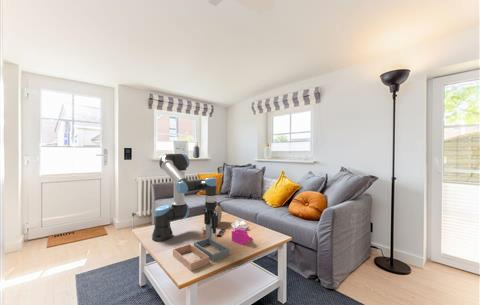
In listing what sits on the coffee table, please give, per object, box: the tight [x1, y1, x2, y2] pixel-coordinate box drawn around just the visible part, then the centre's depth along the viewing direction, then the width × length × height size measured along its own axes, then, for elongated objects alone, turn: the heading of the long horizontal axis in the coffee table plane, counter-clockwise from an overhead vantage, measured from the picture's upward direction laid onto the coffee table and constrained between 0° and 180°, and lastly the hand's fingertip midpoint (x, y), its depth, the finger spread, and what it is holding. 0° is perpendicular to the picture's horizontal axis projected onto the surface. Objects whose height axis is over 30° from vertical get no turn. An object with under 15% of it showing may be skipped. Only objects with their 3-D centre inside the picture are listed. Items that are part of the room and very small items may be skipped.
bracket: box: [231, 228, 253, 246], centre depth 158 cm, size 12×10×10 cm
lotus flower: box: [230, 219, 248, 231], centre depth 180 cm, size 14×15×9 cm
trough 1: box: [172, 243, 210, 272], centre depth 130 cm, size 23×12×4 cm, turn 42°
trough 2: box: [193, 237, 230, 262], centre depth 140 cm, size 23×12×4 cm, turn 42°
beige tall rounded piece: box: [210, 203, 223, 225], centre depth 192 cm, size 17×9×23 cm, turn 164°
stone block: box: [205, 223, 217, 240], centre depth 140 cm, size 5×5×8 cm
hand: (210, 236), depth 140 cm, fingers closed on stone block, 5 cm apart
